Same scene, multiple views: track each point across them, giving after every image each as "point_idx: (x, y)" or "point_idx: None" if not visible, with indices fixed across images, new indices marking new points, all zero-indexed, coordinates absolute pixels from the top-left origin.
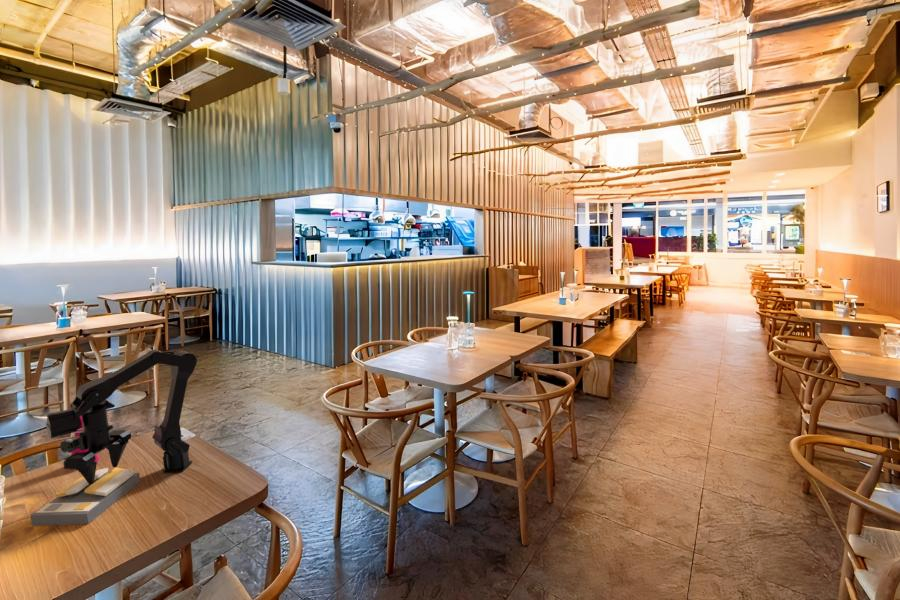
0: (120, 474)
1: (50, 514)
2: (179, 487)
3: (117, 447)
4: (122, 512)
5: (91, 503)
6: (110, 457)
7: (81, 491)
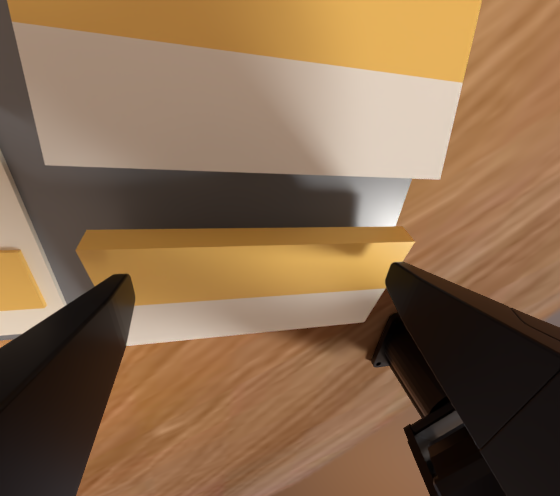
0: (323, 300)
1: None
2: (275, 401)
3: (553, 485)
4: None
5: (41, 307)
6: (469, 314)
7: None
